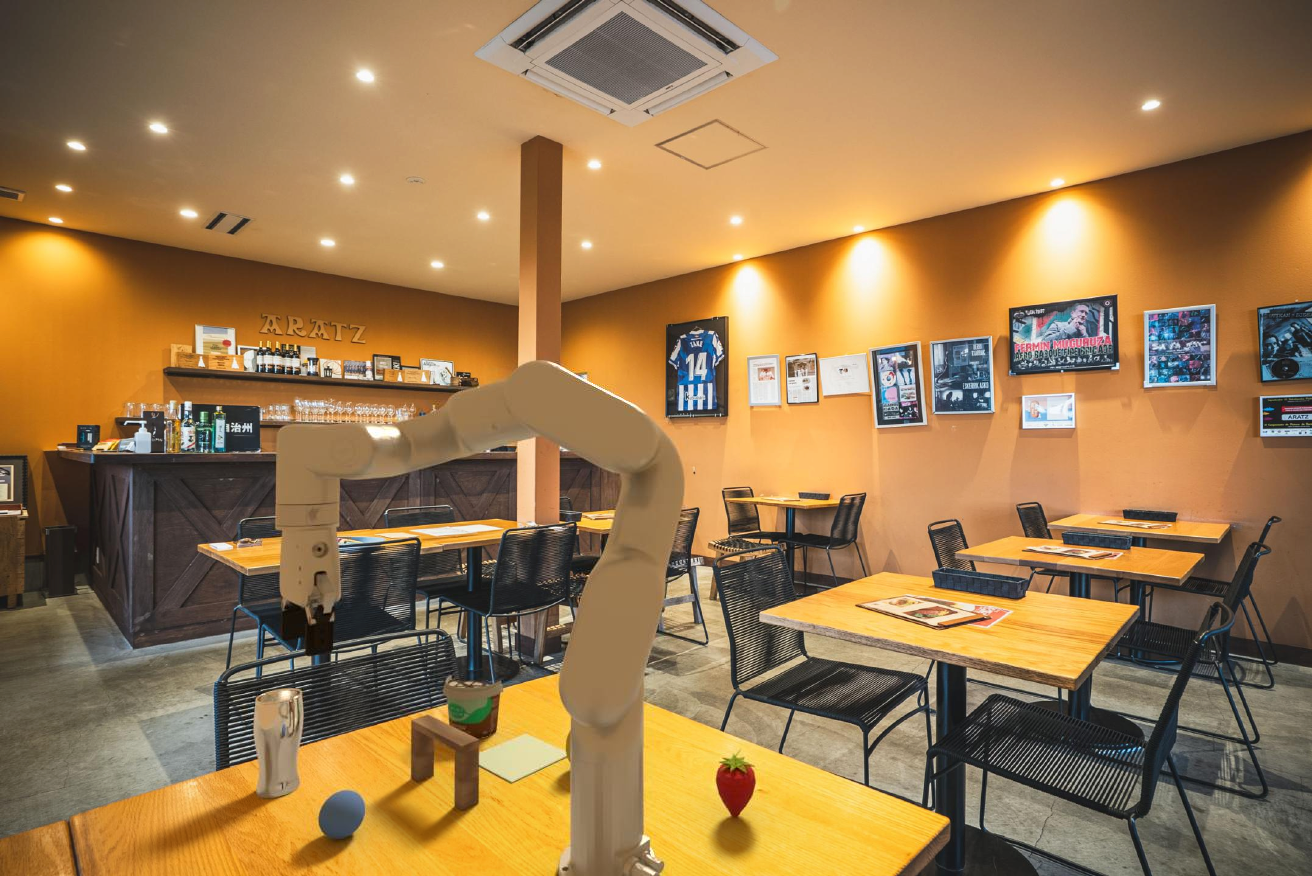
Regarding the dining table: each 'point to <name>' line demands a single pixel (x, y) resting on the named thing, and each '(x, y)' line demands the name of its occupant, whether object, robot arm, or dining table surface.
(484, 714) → the food container
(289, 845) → the dining table surface
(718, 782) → the strawberry
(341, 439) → the robot arm
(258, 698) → the metal pint tumbler
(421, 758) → the bridge
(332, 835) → the ball
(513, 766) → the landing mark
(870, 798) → the dining table surface
